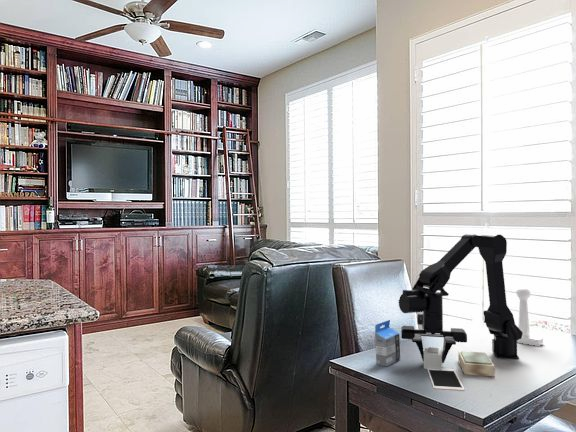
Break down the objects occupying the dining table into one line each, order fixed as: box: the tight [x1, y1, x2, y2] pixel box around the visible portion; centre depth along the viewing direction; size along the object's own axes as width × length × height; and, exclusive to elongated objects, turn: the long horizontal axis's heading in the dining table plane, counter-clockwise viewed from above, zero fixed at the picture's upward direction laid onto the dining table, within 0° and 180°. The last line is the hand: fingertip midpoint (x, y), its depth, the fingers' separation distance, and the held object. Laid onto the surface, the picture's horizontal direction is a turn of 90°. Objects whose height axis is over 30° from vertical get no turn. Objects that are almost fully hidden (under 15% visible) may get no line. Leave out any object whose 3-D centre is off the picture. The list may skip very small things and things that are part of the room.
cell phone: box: [426, 367, 465, 392], centre depth 120 cm, size 8×16×1 cm, turn 168°
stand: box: [458, 350, 496, 377], centre depth 128 cm, size 8×12×3 cm, turn 166°
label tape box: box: [374, 319, 401, 367], centre depth 134 cm, size 9×4×12 cm, turn 137°
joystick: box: [515, 286, 544, 347], centre depth 155 cm, size 11×8×20 cm
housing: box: [423, 345, 443, 370], centre depth 131 cm, size 5×8×5 cm, turn 158°
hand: (433, 361), depth 131 cm, fingers closed on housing, 5 cm apart
